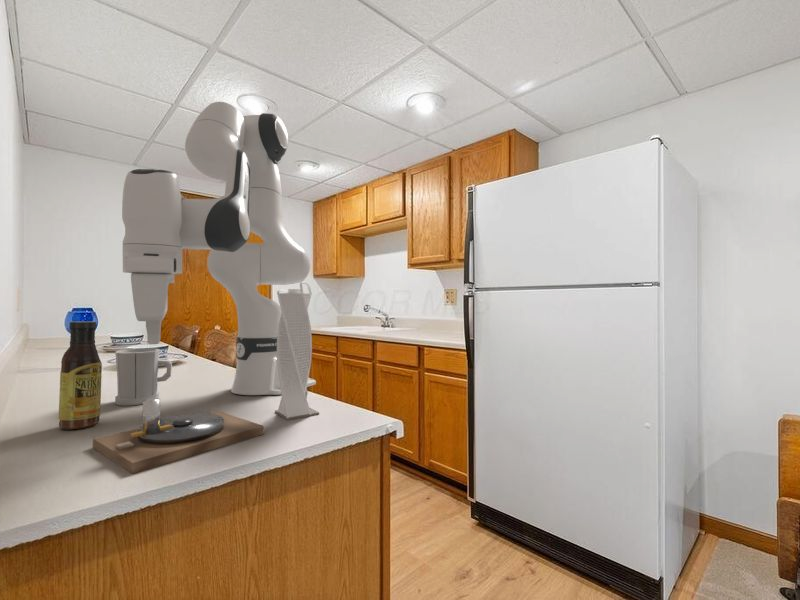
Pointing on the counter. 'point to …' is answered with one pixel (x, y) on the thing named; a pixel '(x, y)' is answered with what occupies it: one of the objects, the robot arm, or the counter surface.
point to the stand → (171, 444)
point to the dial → (175, 425)
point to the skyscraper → (294, 353)
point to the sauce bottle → (80, 379)
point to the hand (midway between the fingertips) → (154, 343)
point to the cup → (139, 375)
